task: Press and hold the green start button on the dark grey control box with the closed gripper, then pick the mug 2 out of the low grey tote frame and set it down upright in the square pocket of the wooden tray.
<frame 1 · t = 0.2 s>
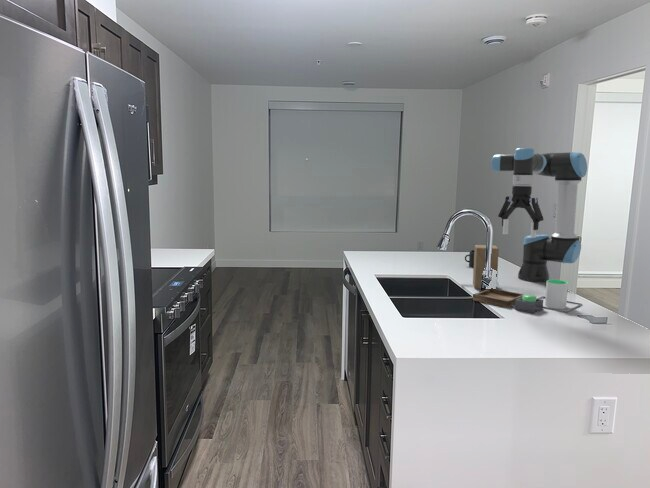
hand: (518, 235, 209), 29 cm above the counter, fingers open, 13 cm apart
wooden tray: (498, 300, 214), on the counter
tote frame: (553, 304, 208), on the counter
start button: (529, 301, 200), point 3 cm above the counter, slide at 0.9 cm
mug: (474, 266, 290), on the counter
wooden block: (484, 287, 239), on the counter
mug 2: (553, 305, 208), resting in tote frame
control box: (528, 309, 201), on the counter
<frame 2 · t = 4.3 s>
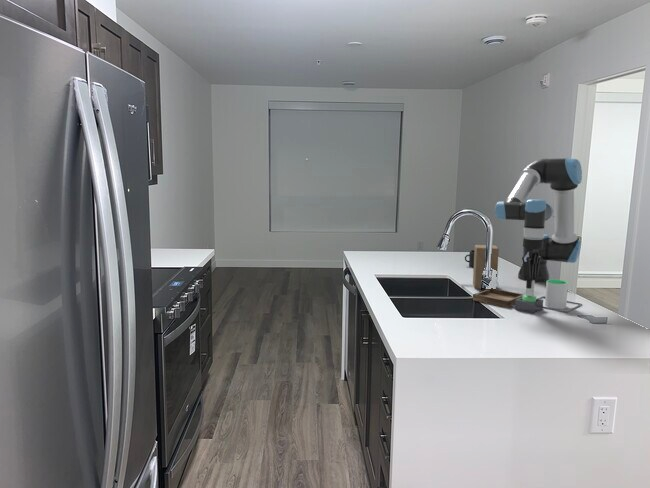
hand: (529, 295, 200), 6 cm above the counter, fingers closed
start button: (529, 301, 200), point 3 cm above the counter, slide at 1.0 cm, touching gripper
everything else where it was.
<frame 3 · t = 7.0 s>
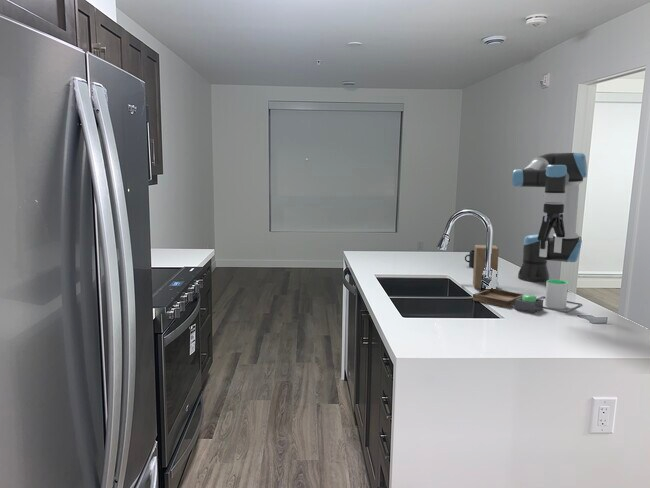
hand: (550, 254, 203), 22 cm above the counter, fingers open, 13 cm apart
start button: (529, 301, 200), point 3 cm above the counter, slide at 1.0 cm
everything else where it was.
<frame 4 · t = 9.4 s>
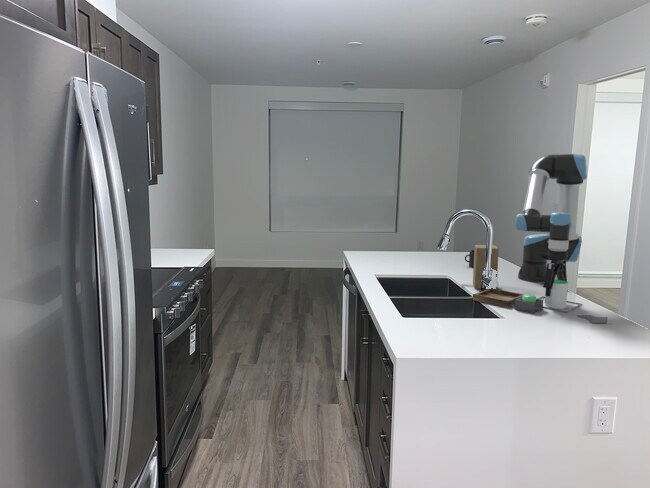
hand: (553, 301, 208), 2 cm above the counter, fingers open, 11 cm apart
mug 2: (553, 305, 208), resting in tote frame, touching gripper
everything else where it was.
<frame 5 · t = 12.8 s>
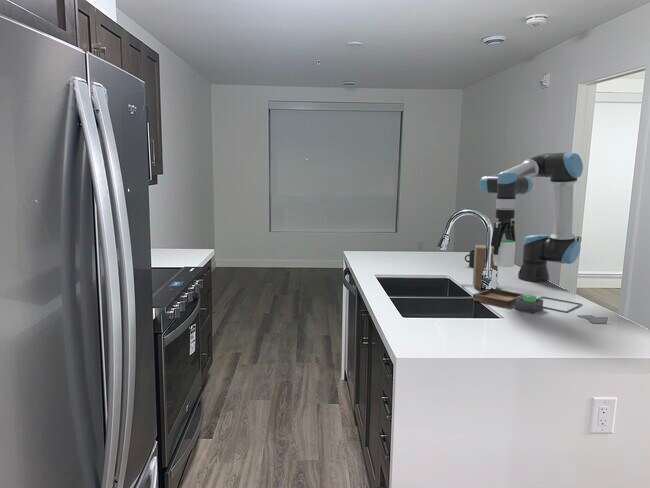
hand: (502, 260, 212), 18 cm above the counter, fingers closed on mug 2, 10 cm apart
mug 2: (502, 264, 212), point 16 cm above the counter, touching gripper
everything else where it was.
when the fingers open (4 cm above the counter, at t = 16.1 s): mug 2 stays where it is, resting on wooden tray.
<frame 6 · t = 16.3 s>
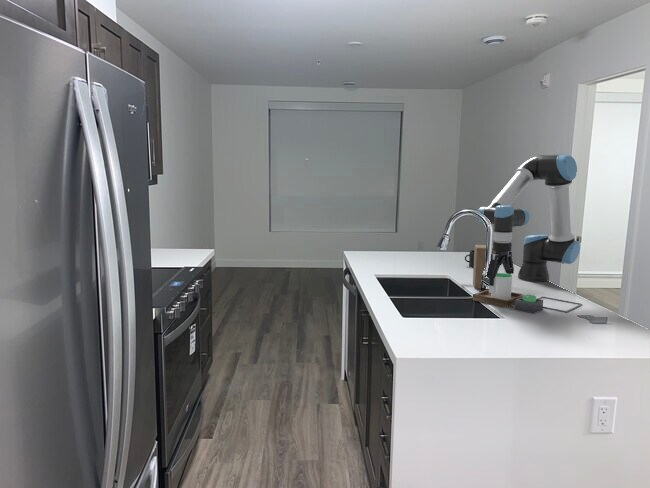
hand: (499, 290, 214), 5 cm above the counter, fingers open, 12 cm apart
mug 2: (499, 297, 215), point 1 cm above the counter, touching wooden tray
everything else where it was.
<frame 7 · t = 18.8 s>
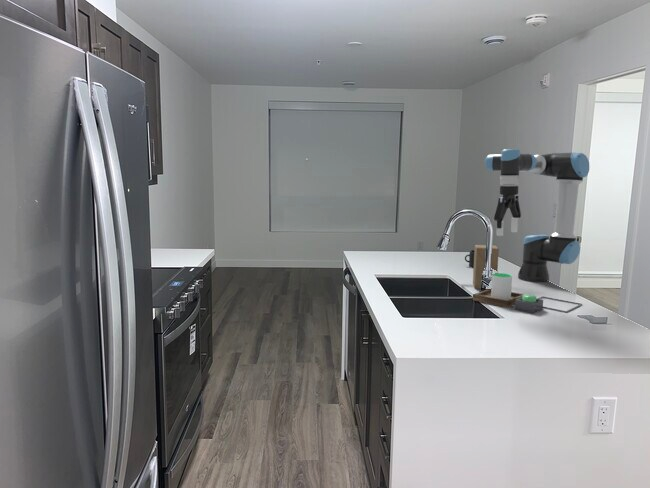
hand: (507, 234, 216), 28 cm above the counter, fingers open, 13 cm apart
nothing on the counter moved.
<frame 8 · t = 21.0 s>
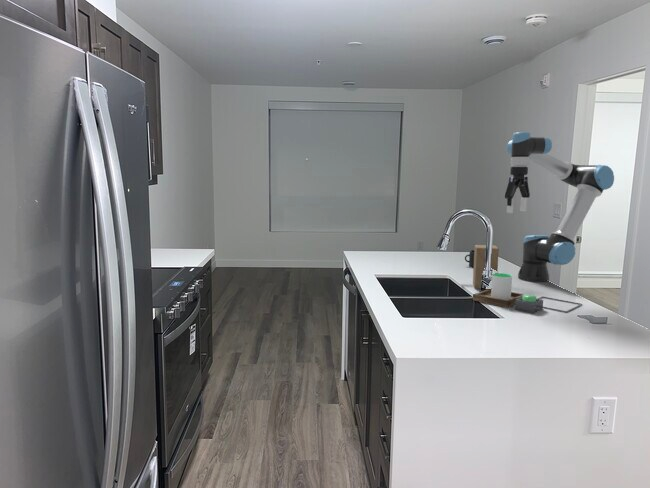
hand: (516, 212, 232), 37 cm above the counter, fingers open, 13 cm apart
nothing on the counter moved.
at the end: mug 2 0.6 cm off-centre on the wooden tray, point 1.0 cm above the wooden tray's base; mug 2 tilted 0°; mug 2 touching wooden tray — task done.
